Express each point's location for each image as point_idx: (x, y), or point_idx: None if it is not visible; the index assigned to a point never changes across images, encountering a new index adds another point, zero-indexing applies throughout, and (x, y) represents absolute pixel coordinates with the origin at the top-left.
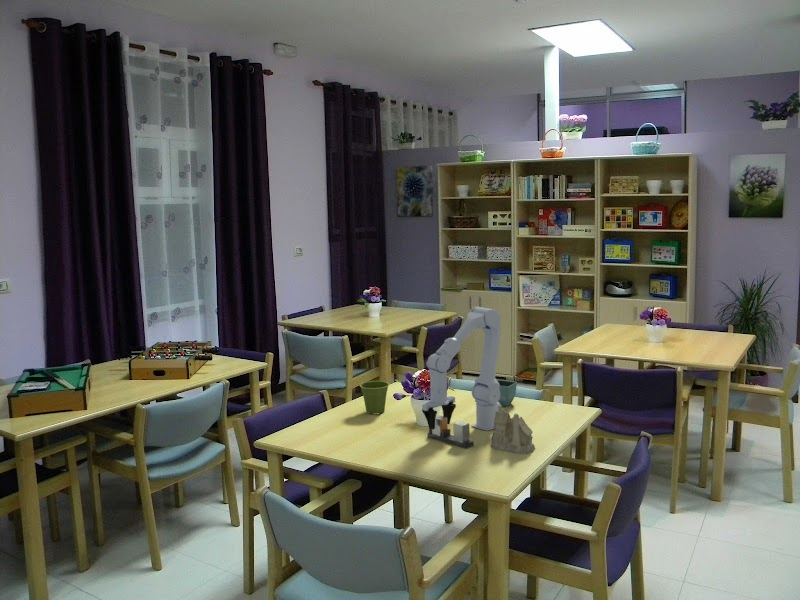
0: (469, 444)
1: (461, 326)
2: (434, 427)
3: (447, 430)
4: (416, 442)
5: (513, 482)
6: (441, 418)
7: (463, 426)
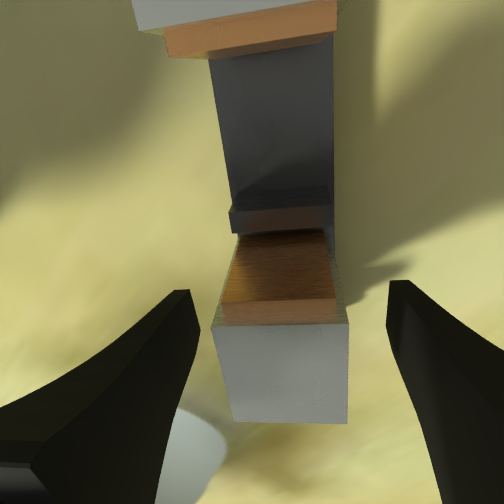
0: None
1: None
2: (400, 287)
3: (270, 208)
4: (475, 287)
5: None
6: (297, 340)
7: None
